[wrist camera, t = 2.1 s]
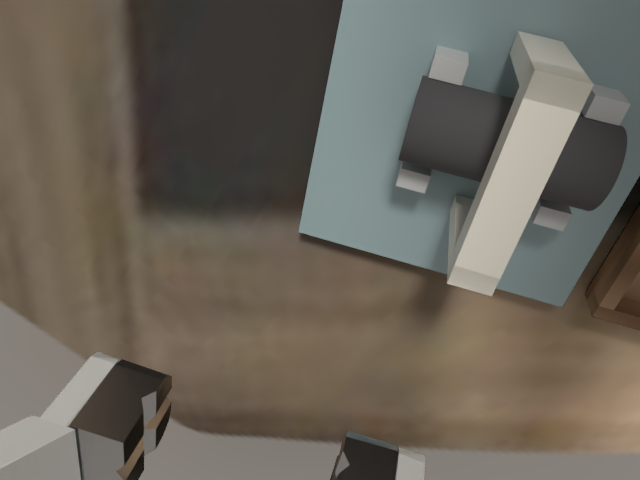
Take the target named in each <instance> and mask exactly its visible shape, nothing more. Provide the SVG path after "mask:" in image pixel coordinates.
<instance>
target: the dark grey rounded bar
mask: <svg viewBox="0 0 640 480" xmlns="http://www.w3.org/2000/svg"><path fill="white" fill-rule="evenodd" d="M513 101H514V98H510V97H506V96H502V95H498V94H495V93H491V92H487V91H483V90H479V89H475V88H471V87H467V86H463V85H461V86H460V85H456V84H452V83H448V82H444V81H440V80H436V79H432V78H428V76H424V75H423V76H422V79H421V82H420V86H419V89H418V92H417V96H416V99H415V102H414V106H413V109H412V113H411V116H410V119H409V123H408V126H407V130H406V133H405V137H404V140H403V144H402V148H401V151H400V155H399V159H398V160H400V161H403V162H407V163H411V164H414V165H418V166H422V167H426V168H429V169H433V170H437V171H440V172H444V173H448V174H452V175H455V176H459V177H463V178H466V179H470V180H474V181H478V182H481V181H482V178H483V176H484V173H485V171H486V168H487V166H488V163H489V161H490V158H491V156H492V153H493V151H494V148H495V146H496V143H497V141H498V138H499V136H500V133H501V131H502V128H503V126H504V123H505V121H506V119H507V116H508V114H509V111H510V109H511V106H512V104H513ZM626 149H627V133H626V130H625V128H624V127H623V126H621V125H619V126H617V125H613V124H609V123H606V122H602V121H598V120H594V119H590V118H586V117H584V116H581V115H579V117H578V119H577V121H576V123H575V125H574V127H573V129H572V131H571V133H570V135H569V137H568V139H567V142H566V144H565V146H564V148H563V150H562V152H561V154H560V156H559V158H558V160H557V162H556V164H555V166H554V168H553V171H552V173H551V175H550V177H549V179H548V181H547V183H546V185H545V187H544V189H543V191H542V193H541V195H540V197H539V198H541V199H544V200H548V201H552V202H556V203H559V204H563V205H567V206H570V207H574V208H578V209H582V210H585V211H592V210H594V209H596V208H597V207H599V206H600V205H601V204H602V203H603V201H604V200H605V199H606V198H607V196H608V195H609V193H610V192H611V190H612V188H613V187H614V185H615V183H616V181H617V178H618V176H619V174H620V171H621V169H622V166H623V162H624V159H625V155H626Z"/></svg>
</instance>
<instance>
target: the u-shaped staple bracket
mask: <svg viewBox="0 0 640 480" xmlns="http://www.w3.org/2000/svg"><path fill="white" fill-rule="evenodd" d="M510 57H511V60H512V63H513V66H514V70H515V73H516V76H517V79H518V83H519V89H518V91H517V94H516V96H515V99H514V101H513V104H512V106H511V109H510V111H509V114H508V116H507V119H506V121H505V123H504V126H503V128H502V131H501V133H500V136H499V138H498V141H497V143H496V146H495V148H494V151H493V153H492V156H491V158H490V161H489V163H488V166H487V168H486V171H485V173H484V176H483V178H482V181H481V183H480V186H479V188H478V191H477V193H476V195H475V198H474V199H471V198H467V197H463V196H460V195H456V196H455V199H454V201H453V204H452V206H451V209H450V223H449V246H448V269H447V284H450V285H454V286H457V287H460V288H464V289H467V290H471V291H474V292H478V293H481V294H485V295H488V296H492V295H493V293H494V291H495V289H496V287H497V284H498V282H499V280H500V278H501V276H502V274H503V272H504V270H505V268H506V266H507V264H508V262H509V260H510V258H511V255H512V253H513V251H514V249H515V247H516V245H517V243H518V241H519V239H520V237H521V235H522V233H523V231H524V229H525V226H526V224H527V222H528V220H529V218H530V216H531V214H532V212H533V210H534V208H535V206H536V204H537V202H538V200H539V197H540V195H541V193H542V191H543V189H544V187H545V185H546V183H547V181H548V179H549V177H550V175H551V173H552V171H553V168H554V166H555V164H556V162H557V160H558V158H559V156H560V154H561V152H562V150H563V148H564V146H565V144H566V142H567V139H568V137H569V135H570V133H571V131H572V129H573V127H574V125H575V123H576V121H577V119H578V117H579V115H580V113H581V110H582V108H583V106H584V104H585V102H586V100H587V98H588V96H589V94H590V92H591V90H592V88H593V86H594V84H593V82H592V81H591V80H590V78H589V77H588V76H587V74H586V73H585V71H584V70H583V69H582V67H581V66H580V65H579V63H578V62H577V60H576V59H575V58H574V56H573V55H572V54H571V52H570V51H569V49H568V48H567V47H566V45H565V44H564V43H563V42H562V41H558V40H554V39H550V38H546V37H542V36H538V35H533V34H529V33H525V32H521V31H518V32H517V35H516V37H515V40H514V43H513V45H512V48H511V51H510Z"/></svg>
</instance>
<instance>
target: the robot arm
mask: <svg viewBox="0 0 640 480" xmlns="http://www.w3.org/2000/svg"><path fill="white" fill-rule="evenodd" d="M171 388H172V376H170V375H167V374H164V373H161V372H158V371H155V370H152V369H149V368H146V367H143V366H140V365H137V364H134V363H131V362H128V361H126V360H123V359H120V358H117V357H114V356H111V355H107V354H104V353H101V352H97V353H95V354H94V355H92V356H91V357H89V358H88V360H87V361H86V362H85V363H84V365H83V366H82V367H81V368H80V369H79V371H78V372H77V373H76V374H75V375H74V377H73V378H72V379H71V380H70V381H69V383H68V384H67V385H66V386H65V387H64V389H63V390H62V391H61V393H59V395H58V396H57V397H56V398H55V399H54V401H53V402H52V403H51V404H50V405H49V407H48V408H47V409H46V410H45V412H44V413H43V414H42V415H41V416H40V417H38V416H34V415H32V416H29V417H27V418H25V419H23V420H21V421H18V422H16V423H14V424H12V425H10V426H8V427H5V428H3V429H1V430H0V480H138V479H139V477H140V476H141V474H142V472H143V470H144V456H145V455H146V454H148V453H150V452H151V451H153V450H155V449H156V447H157V446H158V444H159V442H160V440H161V438H162V436H163V434H164V431H165V429H166V426H167V423H168V421H169V417H170V412H171V401H170V400H169V398H168V397H167V395H168V393H169V392H170V390H171ZM425 469H426V460H425V456H424V455H423V454H420V453H416V452H413V451H410V450H407V449H403V448H400V447H397V445H393V444H390V443H387V442H383V441H380V440H377V439H373V438H370V437H367V436H363V435H360V434H357V433H353V432H350V431H346V433H345V436H344V439H343V441H342V445H341V450H340V454H339V455H338V456H337V459H336V462H335V466H334V469H333V472H332V475H331V479H330V480H425Z"/></svg>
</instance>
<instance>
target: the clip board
mask: <svg viewBox="0 0 640 480" xmlns="http://www.w3.org/2000/svg"><path fill="white" fill-rule="evenodd" d="M518 31H521V32H525V33H529V34H533V35H538V36H542V37H546V38H550V39H554V40H558V41H562V42H563V43H564V44H565V45H566V47H567V48H568V49H569V51H570V52H571V54H572V55H573V56H574V58H575V59H576V60H577V62H578V63H579V65H580V66H581V67H582V69H583V70H584V71H585V73H586V74H587V76H588V77H589V78H590V80H591V81H592V82H593V84H594V86H593V88H592V90H591V92H590V94H589V96H588V98H587V100H586V102H585V104H584V106H583V108H582V110H581V113H580V115H581V116H584V117H586V118H590V119H594V120H598V121H602V122H606V123H609V124H613V125H617V126H619V125H621V126H623V127H624V128H625V130H626V133H627V149H626V155H625V159H624V162H623V166H622V169H621V171H620V174H619V176H618V178H617V181H616V183H615V185H614V187H613V188H612V190H611V192H610V193H609V195H608V196H607V198H606V199H605V200H604V201H603V203H602V204H601V205H600V206H599V207H597V208H596V209H594V210H592V211H585V210H582V209H578V208H574V207H570V206H567V205H563V204H559V203H556V202H552V201H548V200H544V199H541V198H539V200H538V202H537V204H536V206H535V208H534V210H533V212H532V214H531V216H530V218H529V220H528V222H527V224H526V226H525V229H524V231H523V233H522V235H521V237H520V239H519V241H518V243H517V245H516V247H515V249H514V251H513V253H512V255H511V258H510V260H509V262H508V264H507V266H506V268H505V270H504V272H503V274H502V276H501V278H500V280H499V282H498V284H497V287H496V289H499V290H503V291H506V292H510V293H513V294H517V295H520V296H524V297H527V298H531V299H534V300H538V301H541V302H545V303H548V304H552V305H555V306H559V307H562V306H563V305H564V303H565V301H566V300H567V298H568V296H569V295H570V293H571V291H572V289H573V288H574V286H575V284H576V283H577V281H578V279H579V278H580V276H581V274H582V273H583V271H584V269H585V267H586V266H587V264H588V262H589V261H590V259H591V257H592V256H593V254H594V252H595V251H596V249H597V247H598V245H599V244H600V242H601V240H602V239H603V237H604V235H605V234H606V232H607V230H608V229H609V227H610V225H611V223H612V222H613V220H614V218H615V217H616V215H617V213H618V212H619V210H620V208H621V206H622V205H623V203H624V201H625V200H626V198H627V196H628V195H629V193H630V191H631V190H632V188H633V186H634V184H635V183H636V181H637V179H638V178H639V176H640V0H343V5H342V11H341V16H340V21H339V26H338V31H337V36H336V41H335V47H334V52H333V57H332V62H331V67H330V72H329V77H328V83H327V88H326V93H325V98H324V103H323V108H322V114H321V119H320V124H319V129H318V134H317V139H316V144H315V150H314V155H313V160H312V165H311V170H310V175H309V181H308V186H307V191H306V196H305V201H304V206H303V211H302V217H301V222H300V227H299V232H300V233H303V234H307V235H310V236H314V237H317V238H321V239H324V240H328V241H331V242H335V243H338V244H342V245H345V246H349V247H352V248H356V249H359V250H363V251H366V252H370V253H373V254H377V255H380V256H384V257H387V258H391V259H394V260H398V261H401V262H405V263H408V264H412V265H415V266H419V267H422V268H426V269H429V270H433V271H436V272H440V273H443V274H447V269H448V246H449V223H450V209H451V206H452V204H453V201H454V199H455V196H456V195H460V196H463V197H467V198H471V199H474V198H475V195H476V193H477V191H478V188H479V186H480V183H481V182H478V181H474V180H470V179H466V178H463V177H459V176H455V175H452V174H448V173H444V172H440V171H437V170H433V169H429V168H426V167H422V166H418V165H414V164H411V163H407V162H403V161H400V160H398V159H399V155H400V151H401V148H402V144H403V140H404V137H405V133H406V130H407V126H408V123H409V119H410V116H411V113H412V109H413V106H414V102H415V99H416V96H417V92H418V89H419V86H420V82H421V79H422V76H423V75H424V76H428V78H432V79H436V80H440V81H444V82H448V83H452V84H456V85H460V86H461V85H463V86H467V87H471V88H475V89H479V90H483V91H487V92H491V93H495V94H498V95H502V96H506V97H510V98H514V99H515V96H516V94H517V91H518V89H519V83H518V79H517V76H516V73H515V70H514V66H513V63H512V60H511V57H510V51H511V48H512V45H513V43H514V40H515V37H516V35H517V32H518Z"/></svg>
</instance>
